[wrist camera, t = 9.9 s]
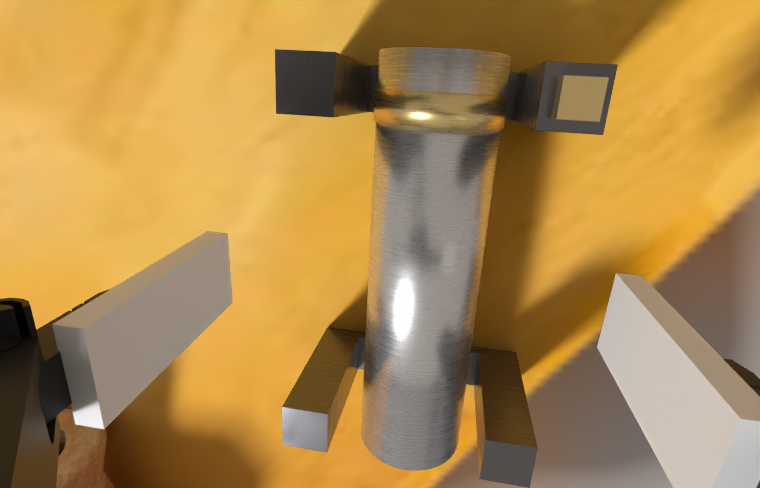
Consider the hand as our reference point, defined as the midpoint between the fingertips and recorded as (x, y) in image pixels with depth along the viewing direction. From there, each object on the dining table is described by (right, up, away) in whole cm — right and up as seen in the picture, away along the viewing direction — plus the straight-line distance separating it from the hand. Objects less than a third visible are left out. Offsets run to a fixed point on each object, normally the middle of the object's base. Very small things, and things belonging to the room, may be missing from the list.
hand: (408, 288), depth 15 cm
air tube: (+1, +1, +7) cm, 7 cm away
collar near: (+2, +8, +5) cm, 10 cm away
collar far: (+1, -5, +10) cm, 11 cm away
